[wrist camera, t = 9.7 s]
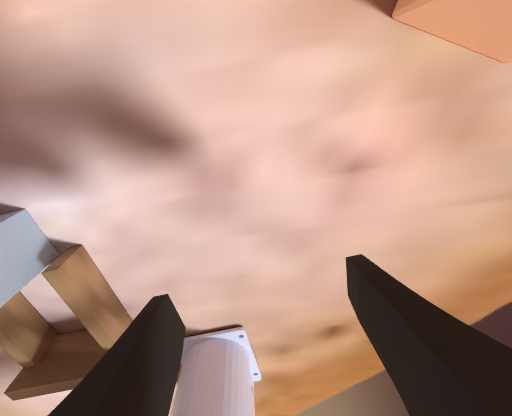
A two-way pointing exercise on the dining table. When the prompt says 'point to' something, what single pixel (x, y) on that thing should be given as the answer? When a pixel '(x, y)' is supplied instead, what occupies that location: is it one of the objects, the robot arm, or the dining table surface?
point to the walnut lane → (64, 345)
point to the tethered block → (21, 252)
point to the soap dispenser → (463, 23)
